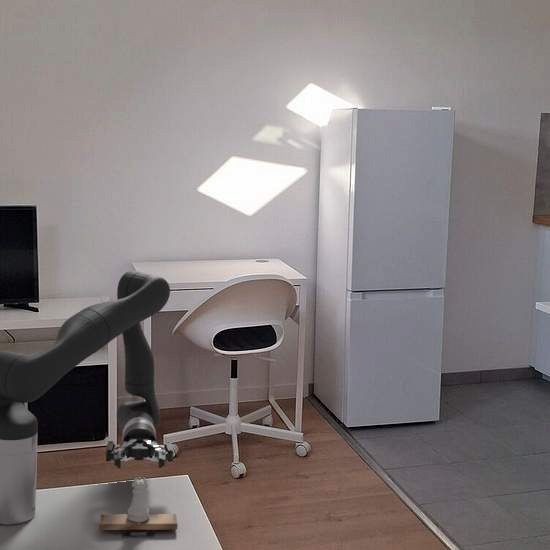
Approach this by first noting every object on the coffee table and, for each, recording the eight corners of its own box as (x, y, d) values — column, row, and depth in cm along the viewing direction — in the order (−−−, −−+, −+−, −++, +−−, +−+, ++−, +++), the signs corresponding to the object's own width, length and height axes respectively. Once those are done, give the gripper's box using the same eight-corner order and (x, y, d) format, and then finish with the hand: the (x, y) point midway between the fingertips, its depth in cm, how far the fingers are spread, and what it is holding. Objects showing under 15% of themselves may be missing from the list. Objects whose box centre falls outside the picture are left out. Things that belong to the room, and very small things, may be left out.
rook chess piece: (150, 514, 168) (153, 476, 167) (148, 524, 164) (150, 484, 163) (128, 513, 168) (130, 474, 167) (125, 522, 164) (127, 483, 163)
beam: (99, 529, 162) (99, 523, 162) (100, 520, 167) (100, 514, 167) (177, 529, 165) (177, 523, 165) (175, 519, 170) (176, 514, 169)
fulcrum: (122, 537, 162) (122, 533, 162) (122, 522, 169) (123, 519, 169) (154, 536, 163) (154, 533, 163) (153, 522, 170) (153, 518, 170)
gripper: (107, 421, 188) (105, 446, 172) (171, 422, 191) (175, 446, 175) (106, 453, 189) (104, 481, 173) (170, 453, 192) (173, 481, 176)
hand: (140, 463), depth 174 cm, fingers open, 8 cm apart
